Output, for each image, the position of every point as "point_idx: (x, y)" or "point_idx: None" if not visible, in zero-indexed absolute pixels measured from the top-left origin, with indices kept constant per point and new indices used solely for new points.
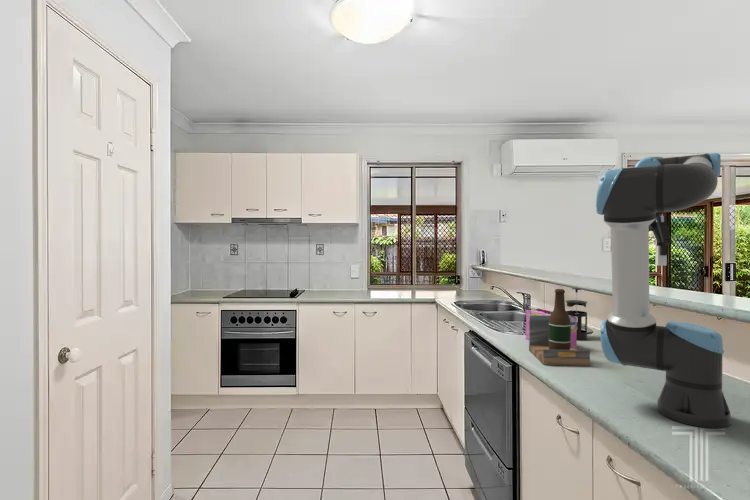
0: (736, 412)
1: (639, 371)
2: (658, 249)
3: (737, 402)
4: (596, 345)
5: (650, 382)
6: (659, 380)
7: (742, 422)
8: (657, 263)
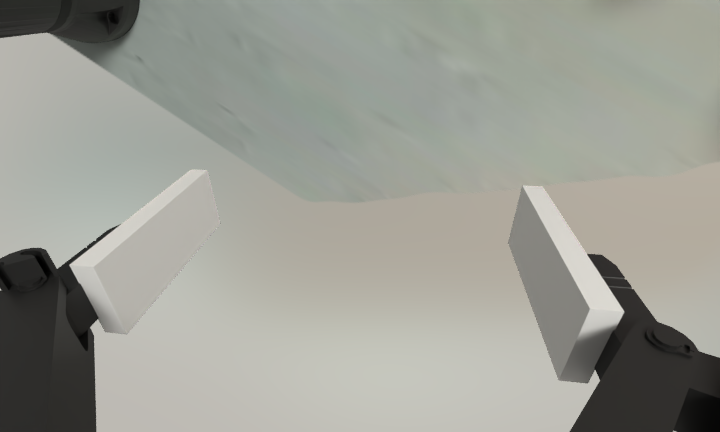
0: (138, 81)
1: (374, 24)
2: (102, 243)
3: (195, 120)
4: (694, 27)
5: (282, 2)
6: (302, 38)
7: (89, 58)
8: (189, 176)
